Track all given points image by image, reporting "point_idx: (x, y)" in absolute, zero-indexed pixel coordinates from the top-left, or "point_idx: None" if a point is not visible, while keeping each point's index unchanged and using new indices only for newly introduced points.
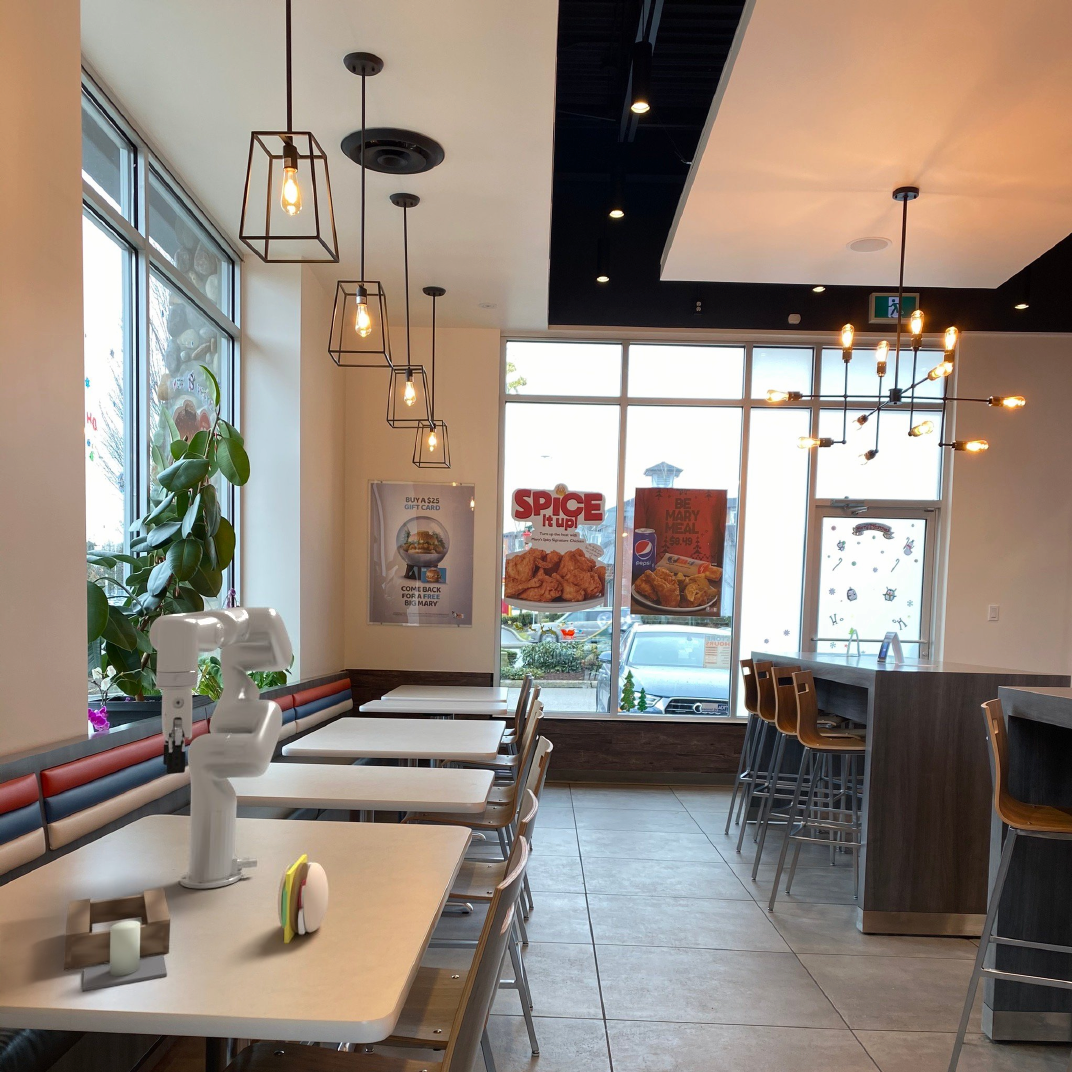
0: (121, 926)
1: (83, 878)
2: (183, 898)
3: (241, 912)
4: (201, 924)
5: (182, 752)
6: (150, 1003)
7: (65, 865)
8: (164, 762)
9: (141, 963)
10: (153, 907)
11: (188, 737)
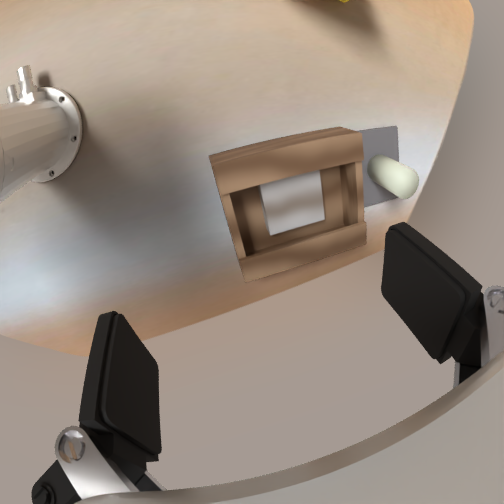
0: (407, 188)
1: (49, 305)
2: (119, 148)
3: (208, 43)
4: (248, 94)
5: (473, 298)
6: (433, 138)
7: (21, 332)
8: (156, 372)
9: (368, 153)
10: (308, 162)
11: (371, 437)
